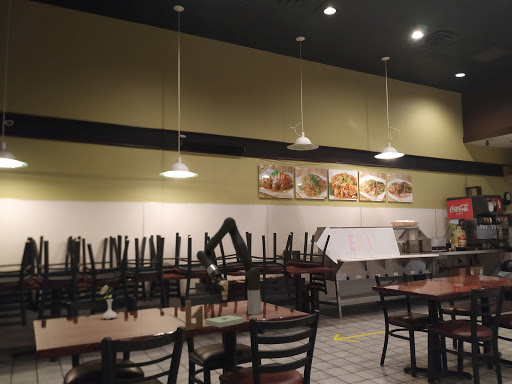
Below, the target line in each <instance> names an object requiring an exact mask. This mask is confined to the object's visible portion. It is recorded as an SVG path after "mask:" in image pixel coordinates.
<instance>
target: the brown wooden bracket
mask: <svg viewBox="0 0 512 384" xmlns="http://www.w3.org/2000/svg"><path fill="white" fill-rule="evenodd" d="M184 303H185V307H184V308H185V309H184V310H185V324H184V328H185V327H186V330H185V331H186V332H187V331H194V330H195V331H196V330H202V329H204V323H203V322H204V321H203V320H204V315H203V313H204V312H203V309H204V308H203V307H204V306H203V305H200V306H199V307H198V308H197V310H195V312H194V313H193V314H192V300H191V299H190V300H185V302H184ZM192 319H195V322H192Z"/></svg>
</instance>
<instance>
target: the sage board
mask: <svg viewBox="0 0 512 384" xmlns="http://www.w3.org/2000/svg"><path fill="white" fill-rule="evenodd" d="M243 323H245V318H244V317H243V316H236V315H229V314H228V315H222V316H217V317H212V318H207V319H205V325H207V326H211V327H216V328H224V327H229V326H234V325H239V324H243Z"/></svg>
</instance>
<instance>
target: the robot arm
mask: <svg viewBox="0 0 512 384" xmlns="http://www.w3.org/2000/svg"><path fill="white" fill-rule="evenodd" d="M238 228H239V227H238V225H237V223H236V220H235V219H234V217H230V216H228V217H226V218H225V219H224V220H223V222H222V224H221V226H220V228H219V229H218V231H217V232H216V233H215V234H214V235H213V236H212V237H211V238H210V240H209V241H207V243H206V244H205V246H204V247H205V250H198V251H197V253H196V256H195V257H196V259H197V260H198V261H199V263H201V264H202V266H204V269H205V270H206V271H207V274H208V275H209V276H210V278H211V279H212V280H211V283H212V284H213V285H214V286H215V287H216V288H219V289H220V291H221V292H222V291H224V290H225V289H224V287H223V286H221V281H223V280H228V278H227V277H226V276H225V277H223V276H222V273H221V271H220V270H219V269H220V268H218V267H217V266H216V265H215V263H214V261H212V259H210V258H211V255H212V254H213V252H214V250H215V249H216V248H217V247H218V246H219V244H221V242H222V240H223V239H224V238H225V236H226V235H227V234H229V237H230V240H231V243H232V245H233V246H232V247H233V249H234V250H235V253H236V255H237V257H238V260H239V261H240V262H241V265H242V267H243V269H244V272H245V275H246V278H247V282H248V283H247V312H248V315H259V314H262V313H263V312H262V308H263V307H262V299H261V273H260V271H259V270H260V269H257V268H256V267H255V266H254V264H253V261H252V259H251V256H250V255H251V254H250V250H249V248H248V245H247V244H246V242H245V239H244V238H243V237H242V235H241V233H240V231H239V229H238ZM229 284H230V281H229V280H228V289H227V291H230V290H231V287H230V285H229Z"/></svg>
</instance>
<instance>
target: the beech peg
mask: <svg viewBox="0 0 512 384" xmlns="http://www.w3.org/2000/svg"><path fill="white" fill-rule="evenodd" d="M228 281H229V280H223V281H221V286H223V287H224V289H225V290H224V291H222V290H221V296H222V300H223V301H225V300H228V290H227V289H228V286H229V284H228Z"/></svg>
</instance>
